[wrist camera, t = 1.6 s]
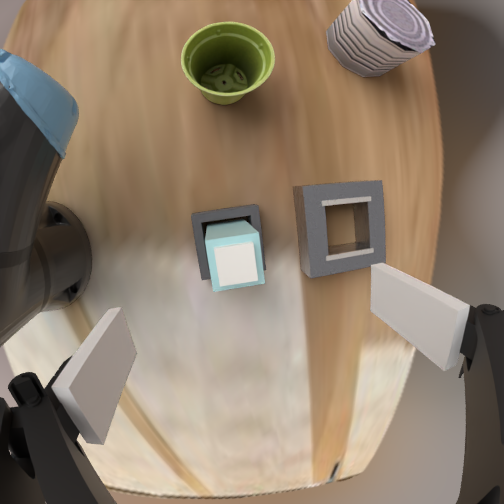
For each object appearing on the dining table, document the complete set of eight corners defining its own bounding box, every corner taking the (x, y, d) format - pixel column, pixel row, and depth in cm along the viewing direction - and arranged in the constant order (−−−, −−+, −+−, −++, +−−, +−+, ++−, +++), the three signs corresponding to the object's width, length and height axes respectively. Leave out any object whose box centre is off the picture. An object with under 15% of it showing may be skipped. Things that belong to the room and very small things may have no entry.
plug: (212, 259, 36) (213, 295, 23) (207, 223, 35) (204, 242, 22) (247, 253, 36) (266, 286, 24) (243, 218, 35) (260, 233, 23)
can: (327, 70, 32) (368, 33, 20) (321, 13, 30) (352, -29, 18) (393, 85, 34) (442, 63, 22) (383, 30, 31) (423, 0, 20)
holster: (202, 273, 36) (201, 280, 33) (192, 213, 34) (191, 215, 31) (261, 263, 37) (266, 270, 34) (254, 204, 35) (258, 205, 32)
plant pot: (274, 97, 32) (292, 71, 24) (210, 130, 32) (210, 111, 24) (237, 45, 30) (244, 11, 21) (174, 76, 30) (165, 46, 21)
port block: (300, 269, 37) (311, 278, 33) (292, 186, 35) (303, 186, 31) (370, 256, 39) (386, 263, 34) (366, 180, 36) (382, 180, 32)
